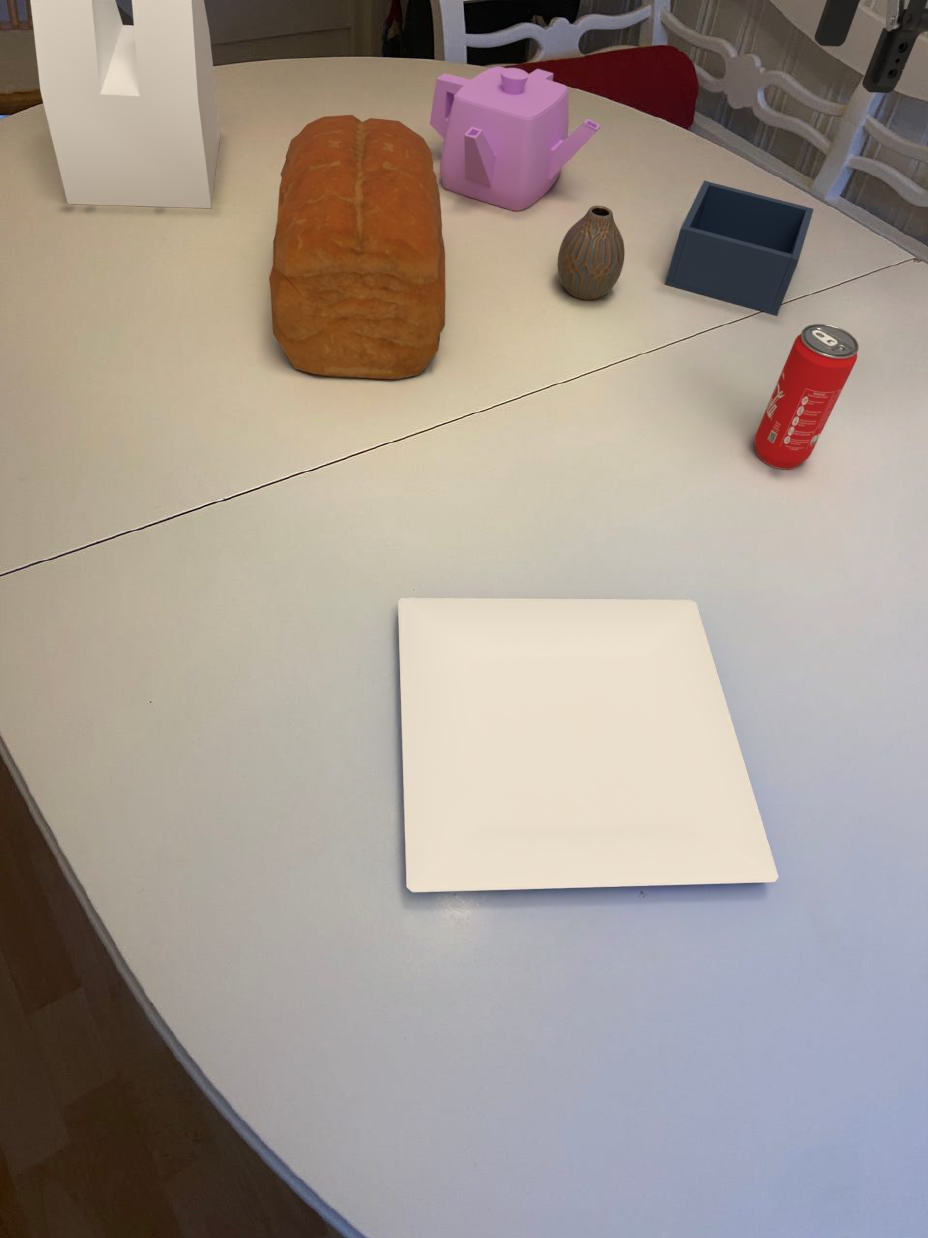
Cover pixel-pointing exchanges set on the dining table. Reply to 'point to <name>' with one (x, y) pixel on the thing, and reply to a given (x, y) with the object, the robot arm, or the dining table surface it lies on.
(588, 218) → the vase
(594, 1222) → the dining table surface
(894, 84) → the robot arm
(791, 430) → the beverage can
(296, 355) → the bread
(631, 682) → the plate
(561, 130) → the teakettle
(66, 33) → the white notched block
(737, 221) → the tub
